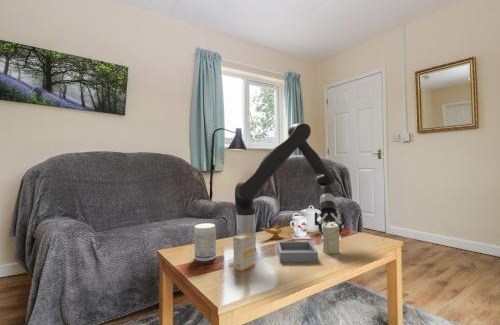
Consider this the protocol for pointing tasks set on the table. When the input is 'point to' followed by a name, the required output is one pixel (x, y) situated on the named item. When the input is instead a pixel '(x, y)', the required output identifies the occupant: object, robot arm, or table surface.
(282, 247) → the bin
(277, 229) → the magic lamp
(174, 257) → the table surface
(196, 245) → the supplement tub
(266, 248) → the table surface
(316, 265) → the table surface
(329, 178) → the robot arm
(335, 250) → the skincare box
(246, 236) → the supplement box
